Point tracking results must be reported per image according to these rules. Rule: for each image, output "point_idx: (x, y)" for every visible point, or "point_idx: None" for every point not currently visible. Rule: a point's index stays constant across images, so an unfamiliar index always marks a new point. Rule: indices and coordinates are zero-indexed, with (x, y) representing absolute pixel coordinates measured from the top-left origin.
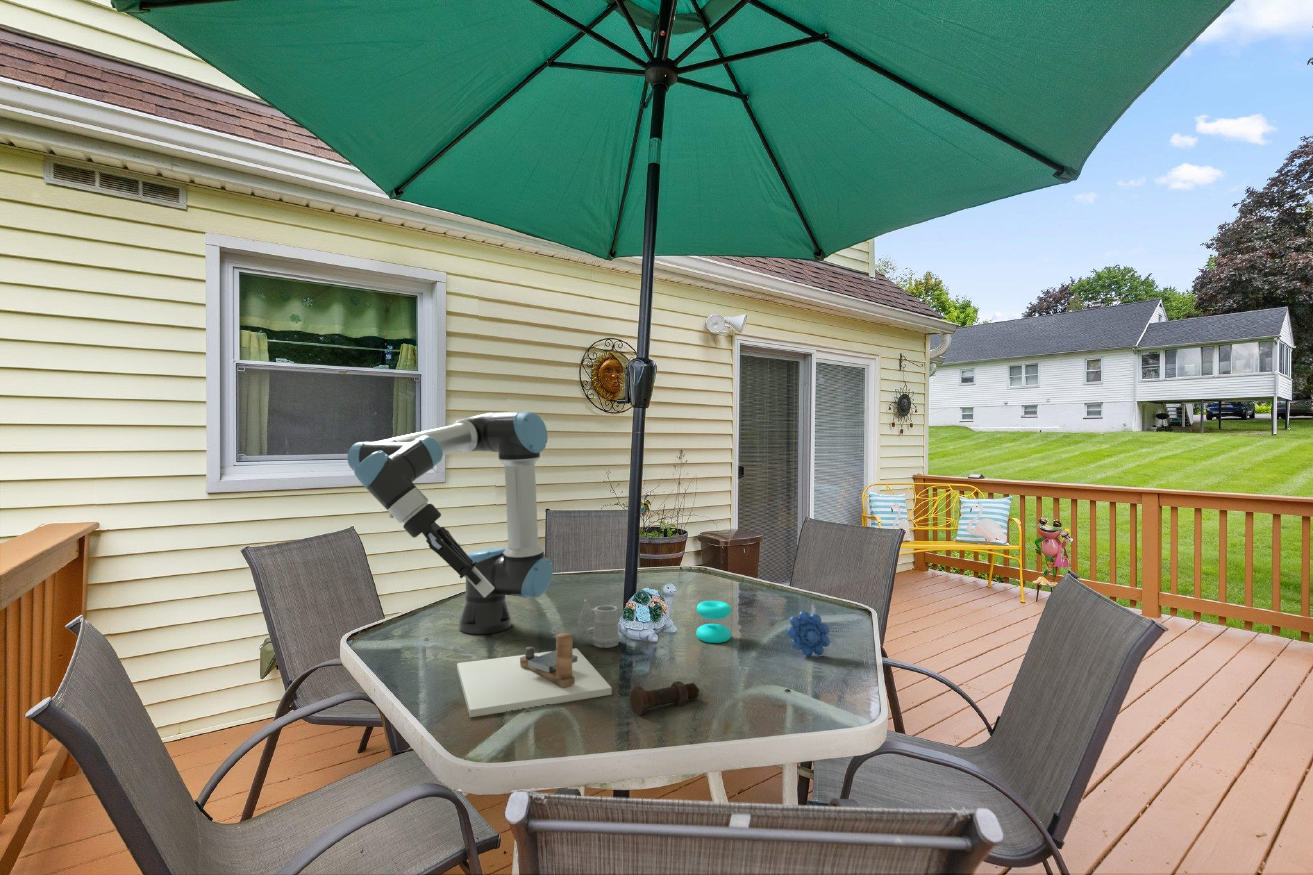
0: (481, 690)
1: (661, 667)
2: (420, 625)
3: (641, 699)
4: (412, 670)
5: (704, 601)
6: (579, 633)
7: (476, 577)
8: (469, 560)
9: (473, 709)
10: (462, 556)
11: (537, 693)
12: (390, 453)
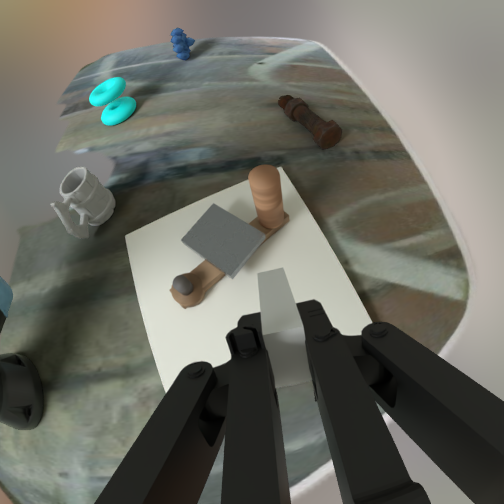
0: None
1: (194, 138)
2: (24, 478)
3: (340, 128)
4: None
5: (92, 95)
6: (83, 237)
7: (324, 313)
8: (237, 371)
9: None
10: (330, 394)
11: (310, 253)
12: None
